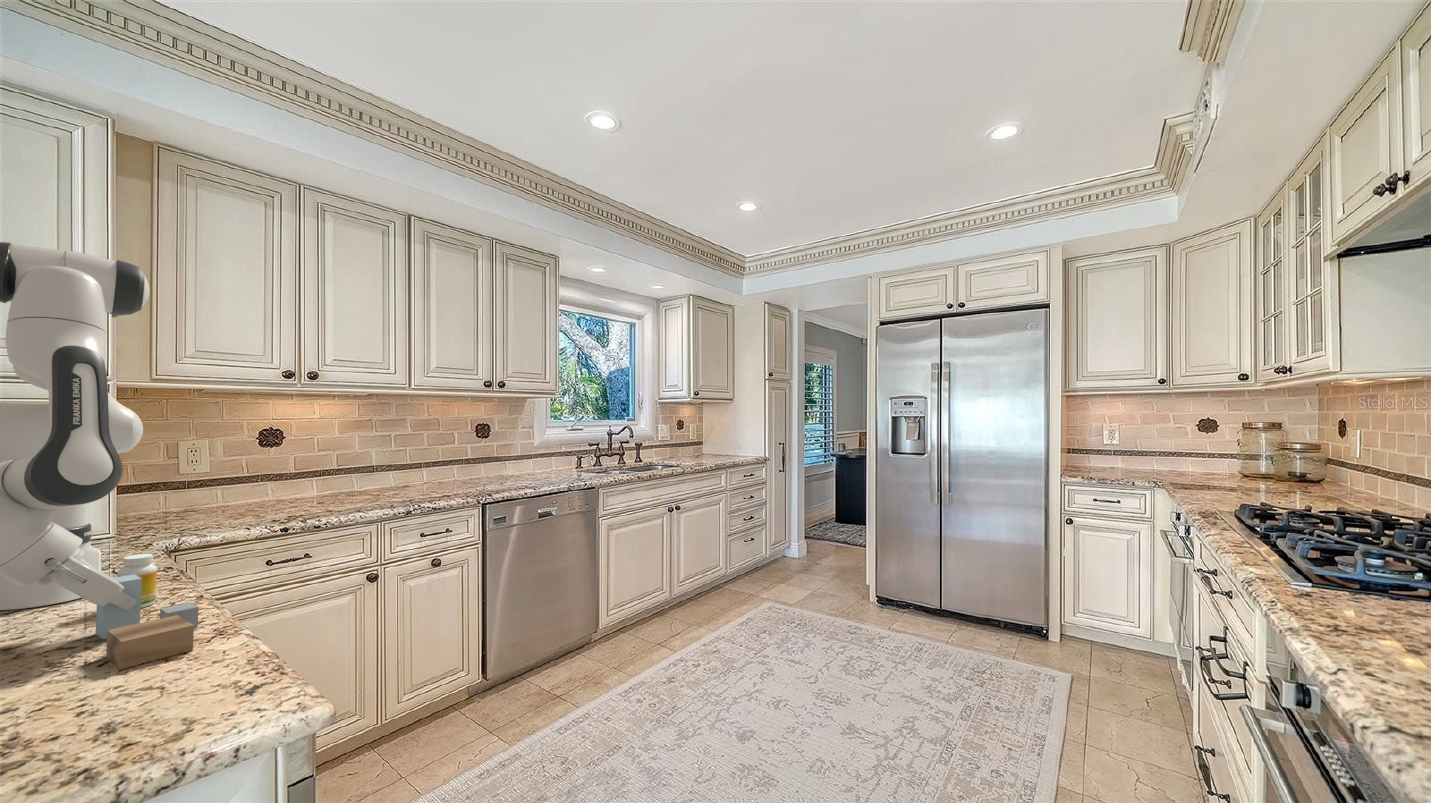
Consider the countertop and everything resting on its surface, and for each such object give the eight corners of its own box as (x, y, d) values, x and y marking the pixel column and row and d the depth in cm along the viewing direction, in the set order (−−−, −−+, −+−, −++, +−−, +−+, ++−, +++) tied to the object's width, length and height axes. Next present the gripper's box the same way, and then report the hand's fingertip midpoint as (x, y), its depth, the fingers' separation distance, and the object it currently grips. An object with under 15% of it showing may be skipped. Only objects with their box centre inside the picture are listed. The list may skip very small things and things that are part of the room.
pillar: (95, 633, 95) (97, 580, 95) (132, 625, 99) (134, 574, 99) (102, 639, 93) (104, 584, 93) (139, 631, 96) (141, 578, 97)
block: (159, 632, 96) (160, 608, 96) (190, 625, 100) (191, 602, 100) (166, 637, 94) (167, 613, 94) (197, 630, 97) (198, 606, 98)
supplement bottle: (107, 610, 106) (109, 559, 106) (136, 601, 111) (138, 552, 112) (135, 610, 106) (137, 559, 106) (163, 601, 111) (165, 553, 112)
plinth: (106, 656, 86) (107, 630, 86) (176, 639, 93) (177, 615, 93) (120, 669, 82) (121, 641, 82) (192, 650, 89) (193, 625, 89)
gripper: (78, 548, 85) (164, 596, 93) (50, 532, 96) (129, 576, 104) (31, 585, 81) (124, 632, 89) (7, 563, 92) (92, 607, 100)
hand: (126, 602), depth 97 cm, fingers closed on pillar, 4 cm apart
